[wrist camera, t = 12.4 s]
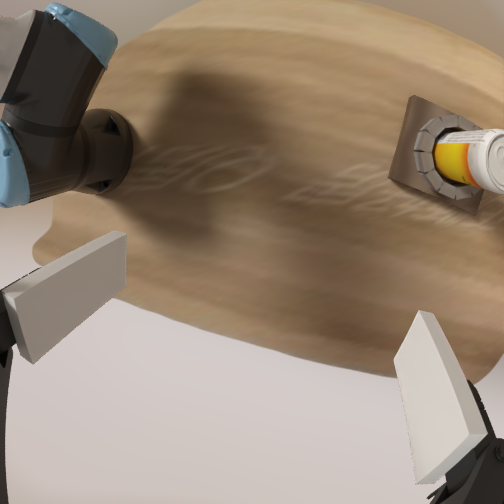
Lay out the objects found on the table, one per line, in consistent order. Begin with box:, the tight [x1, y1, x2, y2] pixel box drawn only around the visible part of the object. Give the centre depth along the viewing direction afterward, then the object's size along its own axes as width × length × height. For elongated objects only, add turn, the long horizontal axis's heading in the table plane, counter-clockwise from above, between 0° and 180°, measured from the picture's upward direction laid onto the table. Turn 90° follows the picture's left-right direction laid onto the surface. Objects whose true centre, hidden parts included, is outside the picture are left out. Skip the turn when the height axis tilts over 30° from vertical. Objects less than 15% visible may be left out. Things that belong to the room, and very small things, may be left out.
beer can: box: [432, 129, 504, 194], centre depth 25 cm, size 6×6×15 cm
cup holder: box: [388, 95, 484, 215], centre depth 31 cm, size 14×12×6 cm
